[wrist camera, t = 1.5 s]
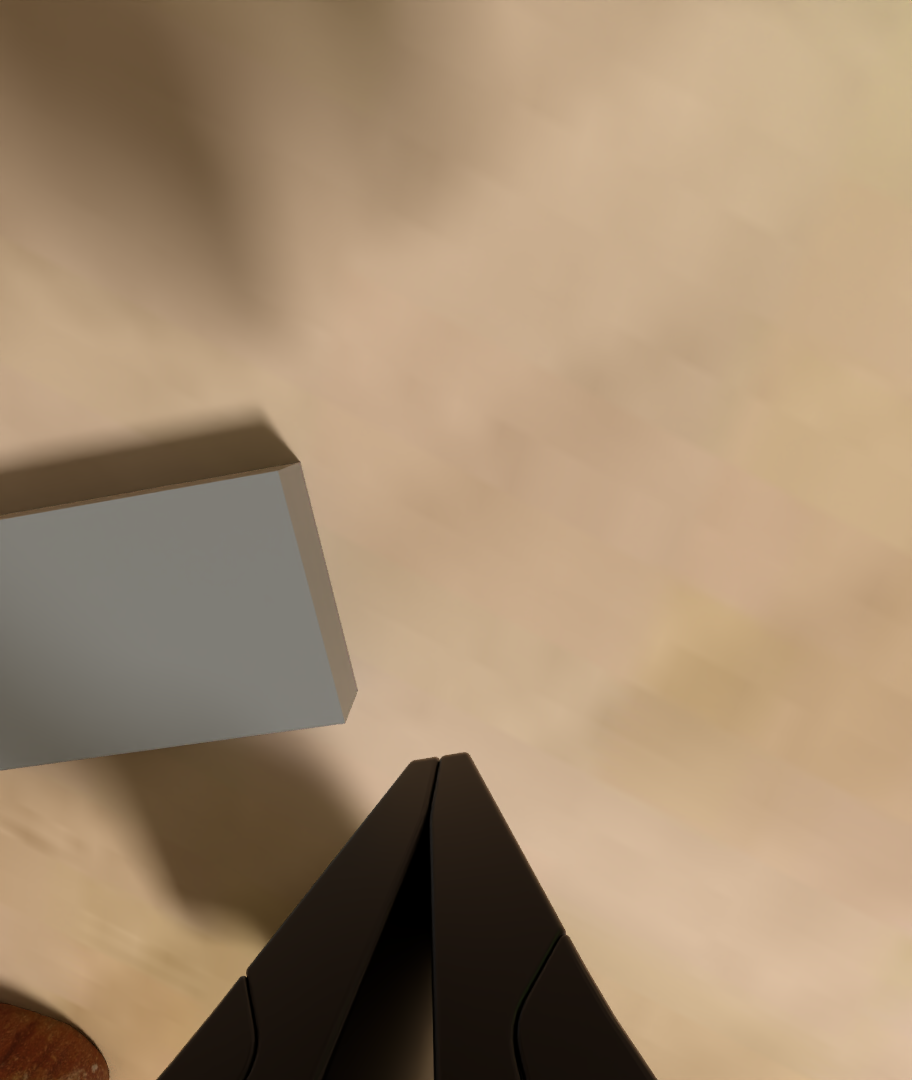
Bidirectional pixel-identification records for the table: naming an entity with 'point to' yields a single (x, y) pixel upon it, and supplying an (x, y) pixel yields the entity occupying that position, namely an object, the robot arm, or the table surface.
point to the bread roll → (45, 1049)
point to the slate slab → (167, 620)
